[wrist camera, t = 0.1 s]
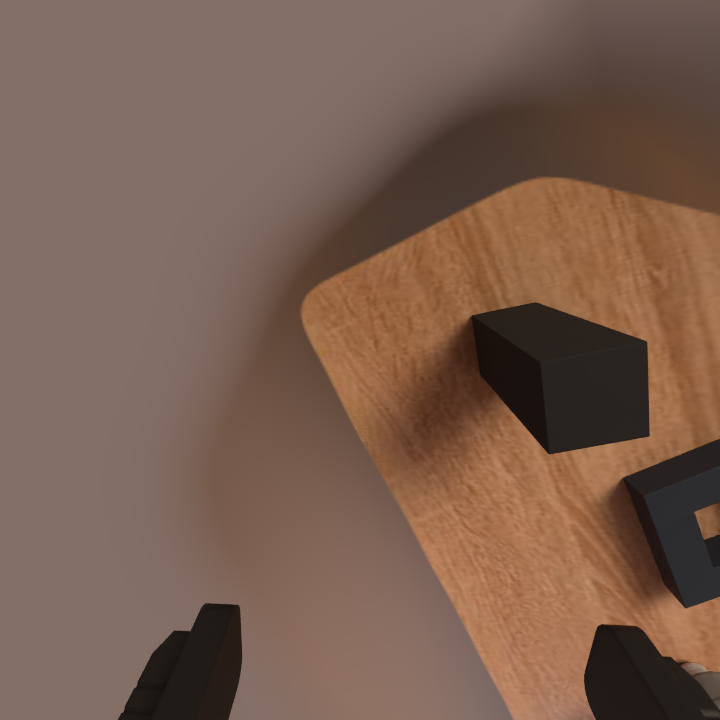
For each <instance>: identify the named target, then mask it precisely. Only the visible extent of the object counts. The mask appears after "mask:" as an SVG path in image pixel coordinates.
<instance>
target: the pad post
mask: <svg viewBox="0 0 720 720" xmlns="http://www.w3.org/2000/svg"><path fill="white" fill-rule="evenodd" d="M472 321H473V328H474V335H475V342H476V349H477V356H478V363H479V370H480V375H481V376H482V377H483V378H484V380H485V381H486V382H487V383H488V384H489V385H490V387H491V388H492V389H493V390H494V391H495V392H496V394H497V395H498V396H499V397H500V398H501V399H502V400H503V402H504V403H505V404H506V405H507V406H508V407H509V409H510V410H511V411H512V412H513V413H514V414H515V416H516V417H517V418H518V419H519V420H520V421H521V423H522V424H523V425H524V426H525V427H526V428H527V429H528V431H529V432H530V433H531V434H532V435H533V436H534V438H535V439H536V440H537V441H538V442H539V443H540V445H541V446H542V447H543V448H544V449H545V450H546V452H547V453H548V454H554V453H560V452H565V451H571V450H576V449H582V448H588V447H593V446H599V445H604V444H610V443H615V442H621V441H626V440H632V439H638V438H643V437H649V436H650V433H649V391H648V349H647V341H644V340H641V339H638V338H636V337H633V336H630V335H627V334H624V333H621V332H619V331H616V330H613V329H610V328H607V327H604V326H601V325H599V324H596V323H593V322H590V321H587V320H584V319H582V318H579V317H576V316H573V315H570V314H567V313H565V312H562V311H559V310H556V309H553V308H550V307H547V306H545V305H542V304H539V303H536V302H535V303H530V304H525V305H520V306H515V307H511V308H506V309H501V310H496V311H491V312H487V313H482V314H477V315H472Z"/></svg>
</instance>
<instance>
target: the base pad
mask: <svg viewBox="0 0 720 720" xmlns="http://www.w3.org/2000/svg"><path fill="white" fill-rule="evenodd" d="M624 481H625V483H626V486H627V488H628V491H629V494H630V496H631V499H632V502H633V504H634V507H635V509H636V512H637V515H638V517H639V520H640V522H641V525H642V528H643V530H644V533H645V535H646V538H647V541H648V543H649V546H650V548H651V551H652V554H653V556H654V559H655V561H656V564H657V567H658V569H659V572H660V574H661V577H662V580H663V582H664V584H665V586H666V587H667V588H668V589H669V590H670V591H671V593H672V594H673V595H674V596H675V597H676V598H677V599H678V601H679V602H680V603H681V604H682V605H683V606H684V607H685V608H688V607H691V606H694V605H697V604H700V603H703V602H706V601H708V600H711V599H714V598H717V597H720V535H718V536H715V537H713V538H710V539H707V540H705V541H704V540H703V537H702V534H701V531H700V528H699V525H698V522H697V519H696V516H695V513H694V511H697V510H700V509H702V508H705V507H707V506H710V505H713V504H715V503H718V502H720V439H719V440H716V441H714V442H711V443H709V444H706V445H704V446H701V447H699V448H697V449H694V450H692V451H689V452H687V453H684V454H682V455H679V456H677V457H674V458H672V459H669V460H667V461H664V462H662V463H659V464H657V465H654V466H652V467H649V468H647V469H644V470H642V471H639V472H637V473H634V474H632V475H630V476H627V477H625V478H624Z"/></svg>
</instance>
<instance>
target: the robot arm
mask: <svg viewBox="0 0 720 720" xmlns="http://www.w3.org/2000/svg"><path fill="white" fill-rule="evenodd" d="M240 619H241V618H240V607H239V605H230V604H210V603H206V604H204V605H203V607H202V608H201V610H200V612H199V614H198V616H197V618H196V620H195V623H194V625H193V627H192V629H191V631H173V632H172V634H171V635H170V636H169V637H168V638H167V639H166V640H165V641H164V642H163V643H162V644H161V645H160V646H159V647H158V648H157V649H156V650H155V651H154V652H153V654H152V655H151V657H150V660H149V661H148V663H147V665H146V667H145V669H144V671H143V673H142V675H141V677H140V678H139V680H138V684H137V687H136V688H134V690H133V692H132V694H131V696H130V698H129V700H128V701H127V703H126V706H125V709H124V712H123V713H121V715H120V717H119V719H118V720H228V719H229V715H230V712H231V708H232V705H233V702H234V698H235V694H236V691H237V687H238V683H239V678H240V672H241V664H242V641H241V620H240ZM584 684H585V691H586V696H587V699H588V702H589V705H590V708H591V710H592V712H593V714H594V716H595V719H596V720H720V710H719V708H718V707H717V706H716V704H715V703H714V702H713V700H712V699H711V698H710V696H709V695H708V694H707V692H706V691H705V690H704V688H703V687H702V686H701V684H700V683H699V682H698V681H697V680H696V679H695V678H693V677H692V676H691V675H690V674H689V673H688V672H687V671H686V670H684V669H683V668H682V667H681V666H680V665H679V664H678V663H677V662H676V661H674V660H673V659H672V658H671V657H663V656H661V654H660V653H659V652H658V650H657V649H656V647H655V646H654V645H653V643H652V642H651V640H650V639H649V638H648V636H647V635H646V634H645V632H644V631H643V630H642V629H640V628H639V627H637V626H624V625H604V624H602V625H599V626H598V627H597V630H596V633H595V636H594V640H593V644H592V648H591V651H590V655H589V659H588V662H587V666H586V670H585V675H584Z"/></svg>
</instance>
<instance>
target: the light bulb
mask: <svg viewBox="0 0 720 720" xmlns="http://www.w3.org/2000/svg"><path fill="white" fill-rule="evenodd" d="M681 667H682V668H683V669H684V670H686V671H687V672H688V673H689V674H690V675H691V676H692V677H693V678H695V679H696V680H697V681H698V682H699V683H700V684H701V686H702V687H703V688H704V690H705V691H706V692H707V694H708V695H709V696H710V698H711V699H712V700H713V702H714V703H715V704H716V706H717V707H718V708H719V710H720V672H713V671H707V670H706V669H705V668H704V667H703V666H702V665H700V664H698V663H694V662H684V663H682V664H681Z"/></svg>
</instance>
